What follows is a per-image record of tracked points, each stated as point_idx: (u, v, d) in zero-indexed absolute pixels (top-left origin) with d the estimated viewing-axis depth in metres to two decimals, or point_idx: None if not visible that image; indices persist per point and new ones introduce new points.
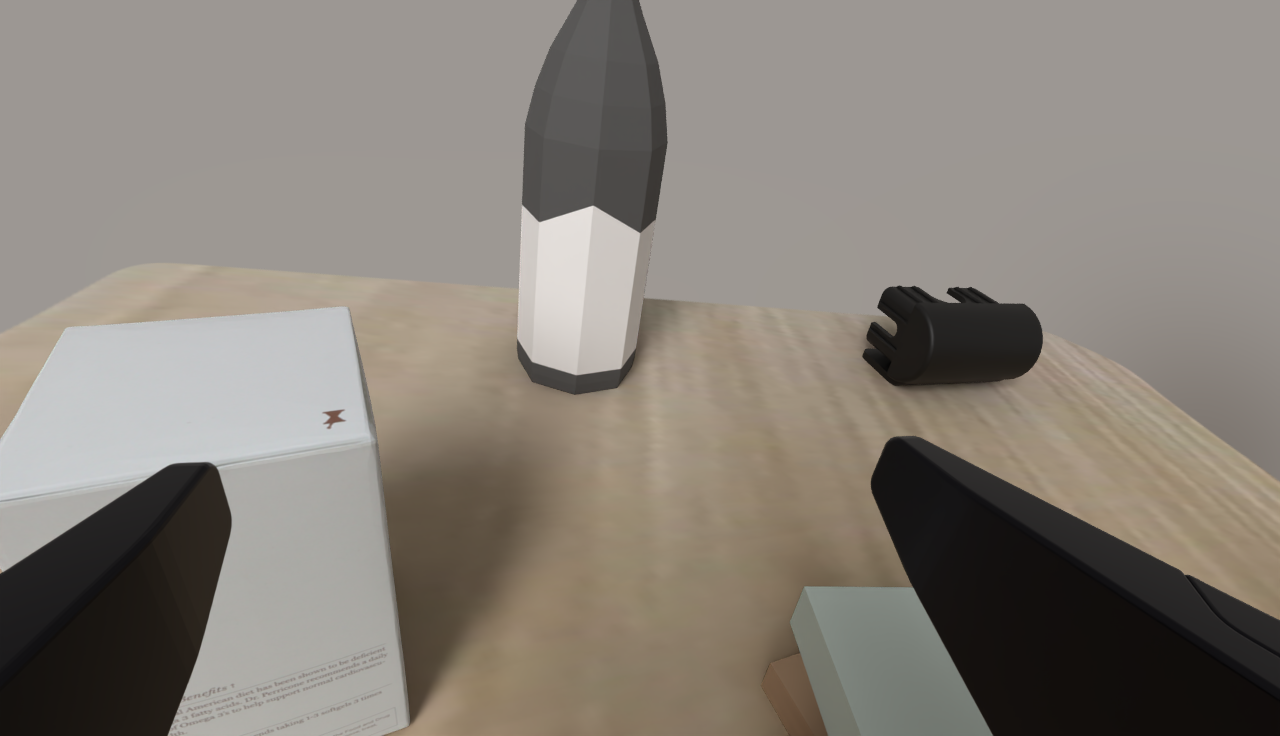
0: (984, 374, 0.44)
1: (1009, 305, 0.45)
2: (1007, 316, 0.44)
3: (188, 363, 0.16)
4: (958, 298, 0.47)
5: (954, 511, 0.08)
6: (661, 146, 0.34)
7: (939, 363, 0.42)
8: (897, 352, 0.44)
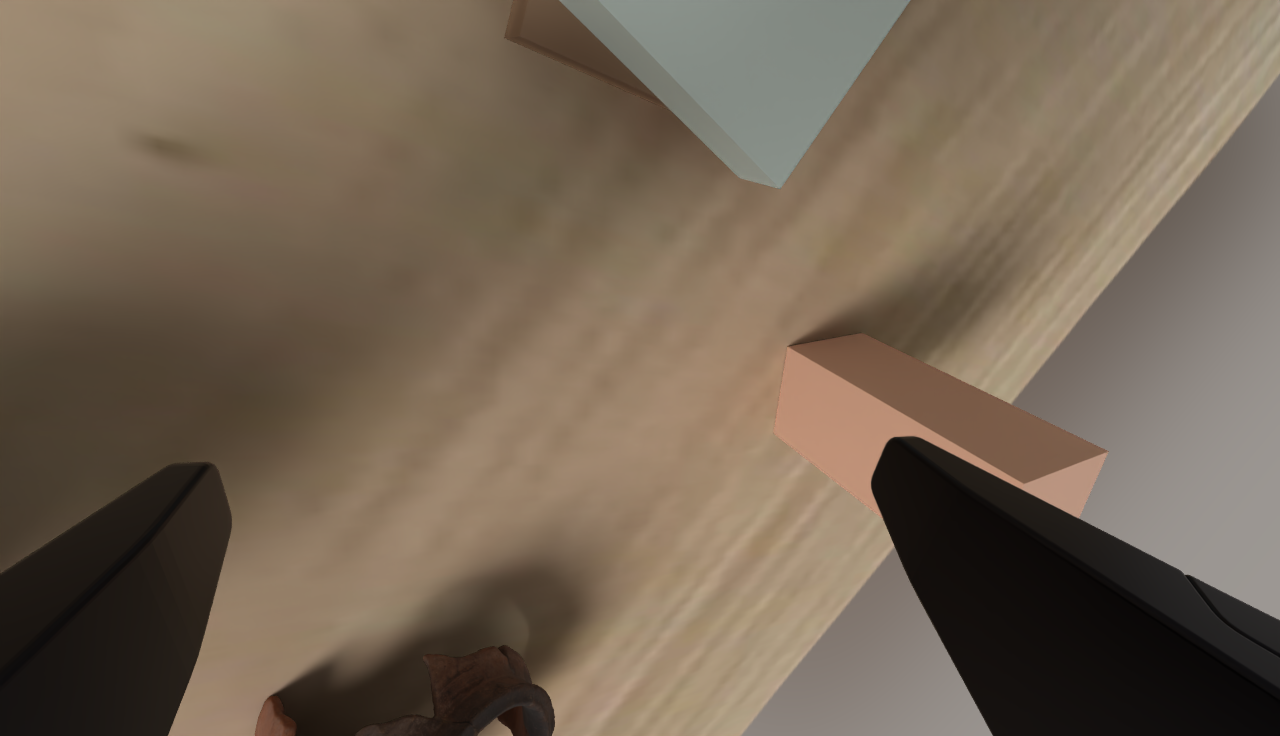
0: None
1: None
2: None
3: None
4: None
5: (955, 510, 0.08)
6: None
7: None
8: None
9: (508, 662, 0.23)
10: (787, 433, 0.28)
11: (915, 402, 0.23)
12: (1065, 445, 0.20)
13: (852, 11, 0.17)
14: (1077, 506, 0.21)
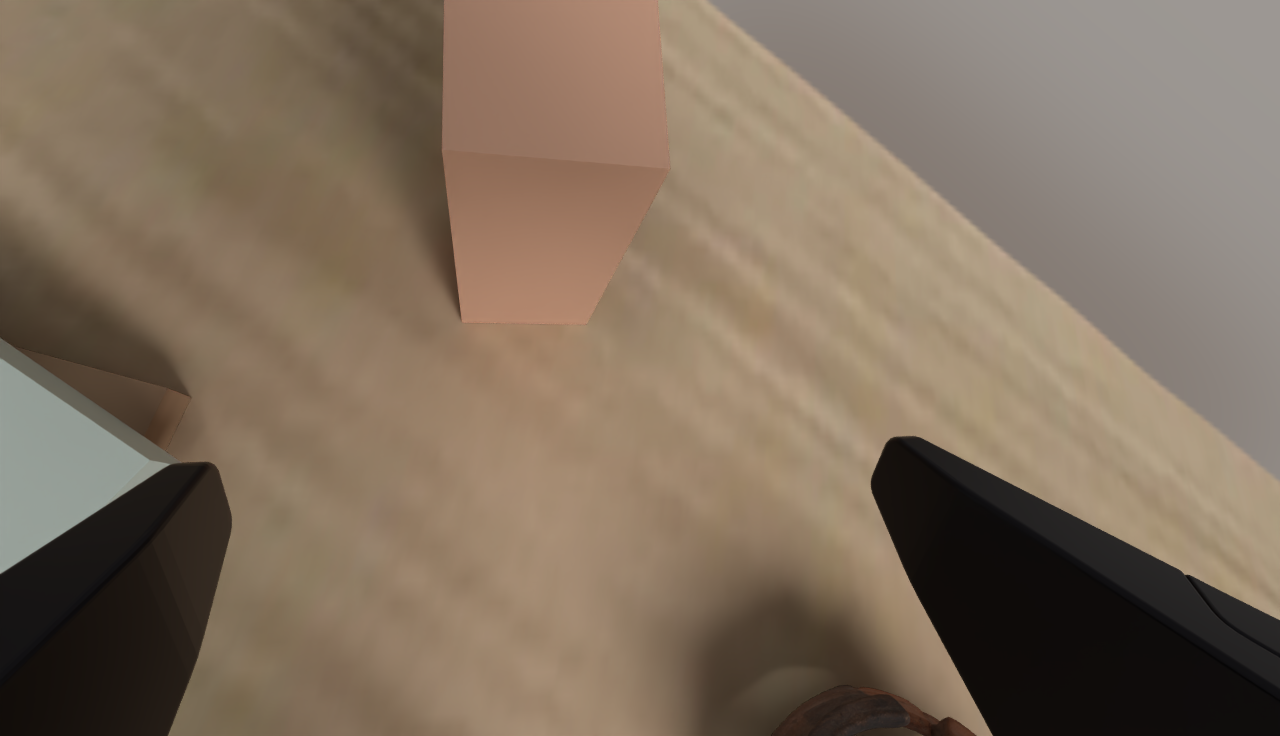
0: None
1: None
2: None
3: None
4: None
5: (954, 510, 0.08)
6: None
7: None
8: None
9: None
10: (575, 316, 0.22)
11: None
12: None
13: None
14: None
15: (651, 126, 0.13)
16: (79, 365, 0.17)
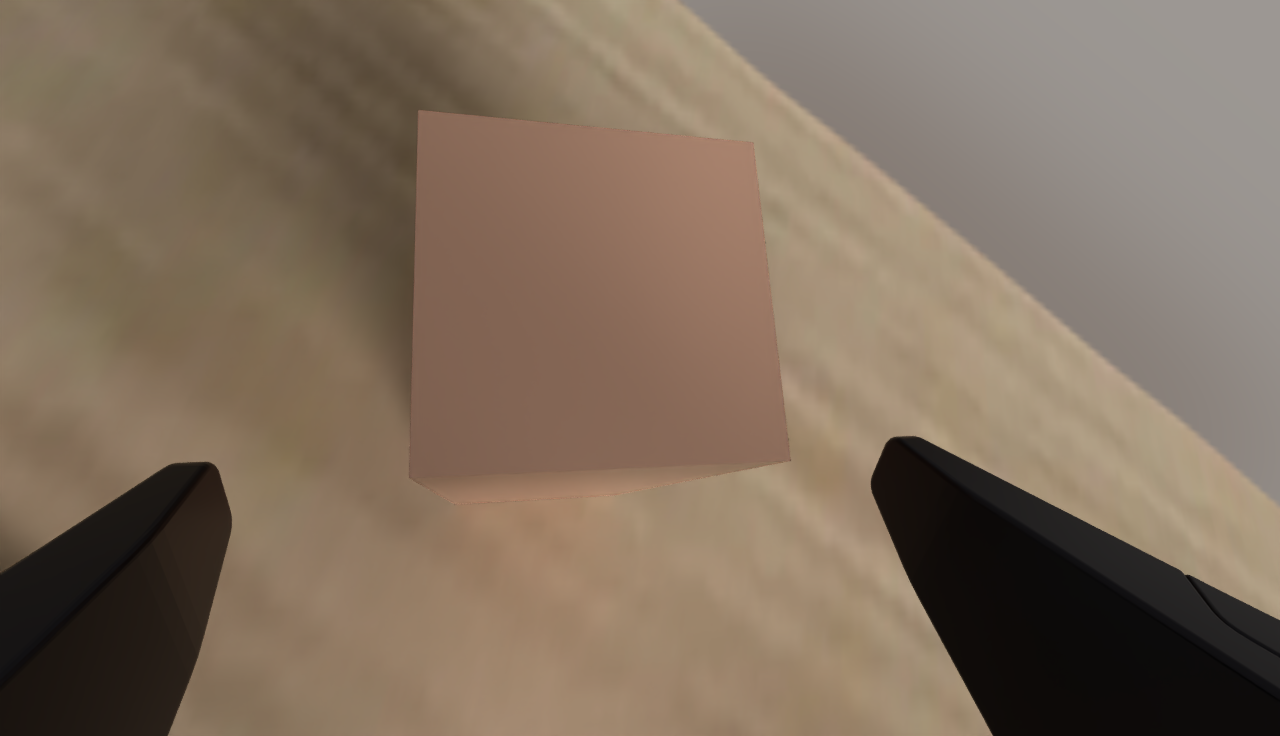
0: None
1: None
2: None
3: None
4: None
5: (955, 511, 0.08)
6: None
7: None
8: None
9: None
10: (602, 495, 0.17)
11: None
12: None
13: None
14: (589, 158, 0.08)
15: (757, 386, 0.08)
16: None
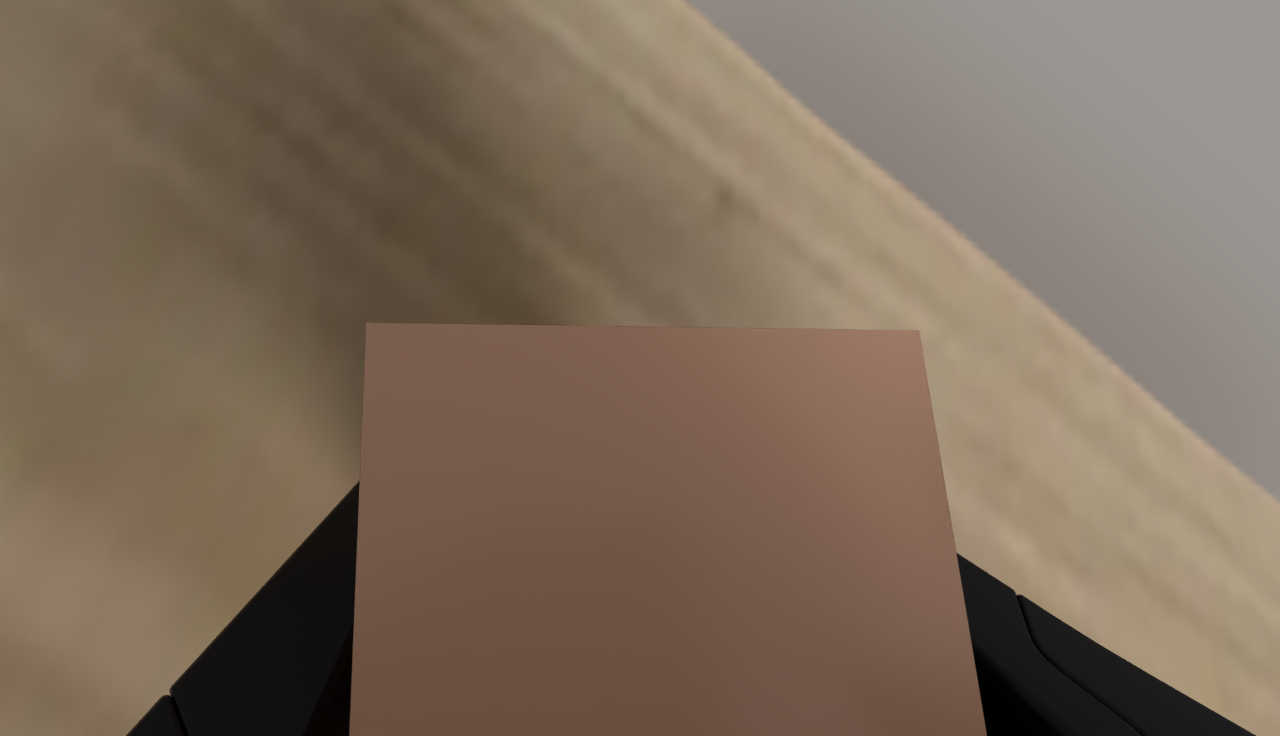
0: None
1: None
2: None
3: None
4: None
5: None
6: None
7: None
8: None
9: None
10: None
11: None
12: None
13: None
14: (662, 387, 0.05)
15: None
16: None
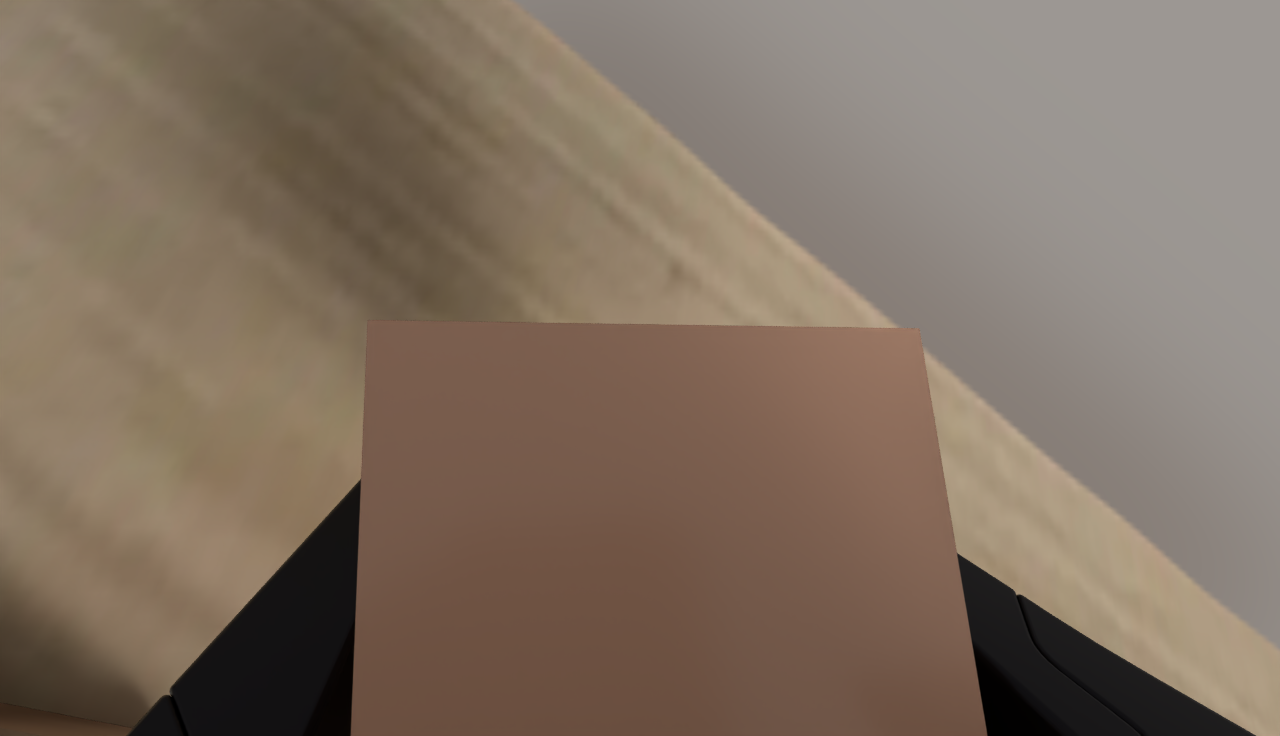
0: None
1: None
2: None
3: None
4: None
5: None
6: None
7: None
8: None
9: None
10: None
11: None
12: None
13: None
14: (663, 385, 0.05)
15: None
16: None
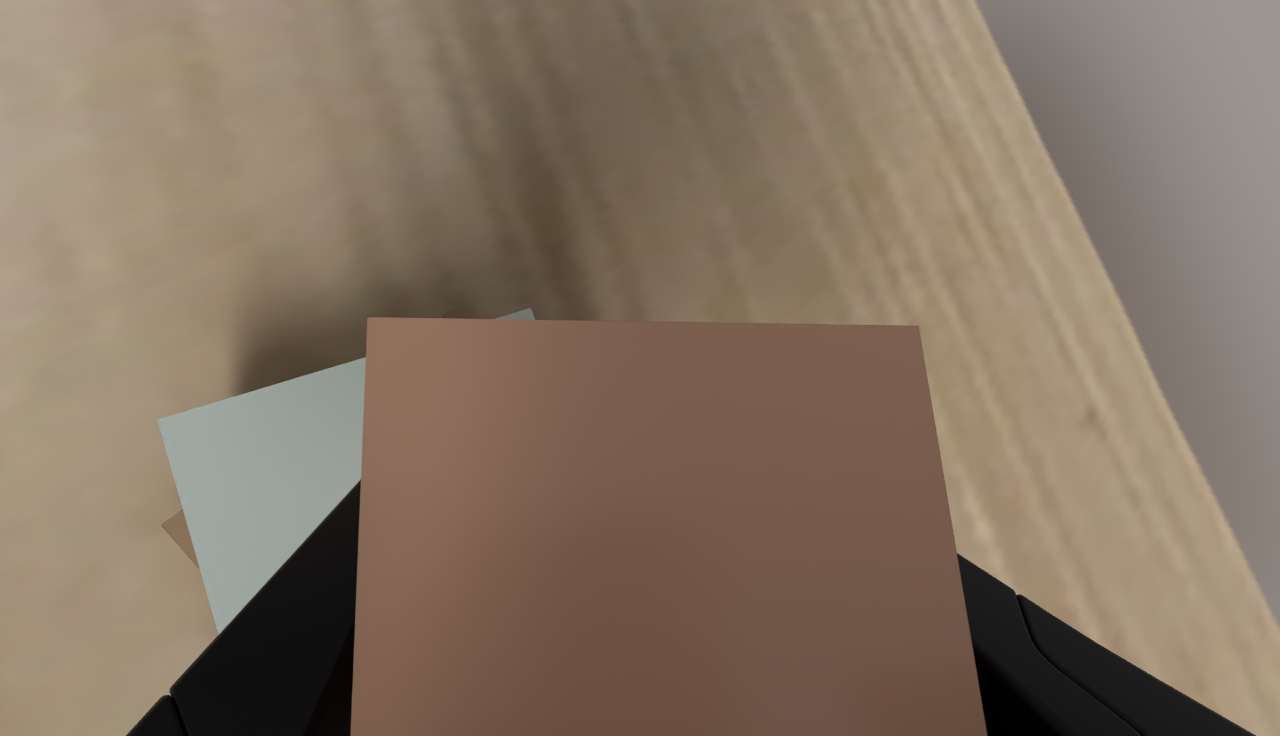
0: None
1: None
2: None
3: None
4: None
5: None
6: None
7: None
8: None
9: None
10: None
11: None
12: None
13: None
14: (662, 381, 0.05)
15: None
16: None
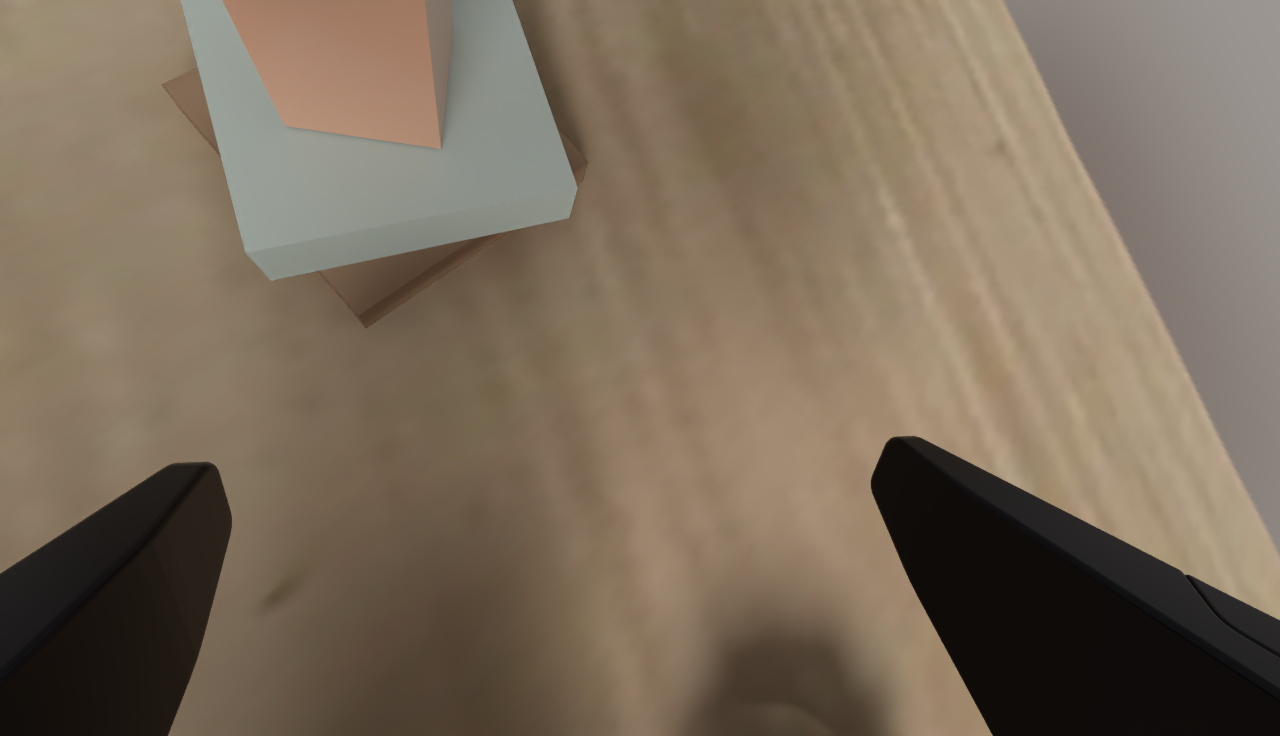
0: None
1: None
2: None
3: None
4: None
5: (954, 511, 0.08)
6: None
7: None
8: None
9: None
10: (420, 128, 0.18)
11: None
12: None
13: (489, 64, 0.21)
14: None
15: None
16: None
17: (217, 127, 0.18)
